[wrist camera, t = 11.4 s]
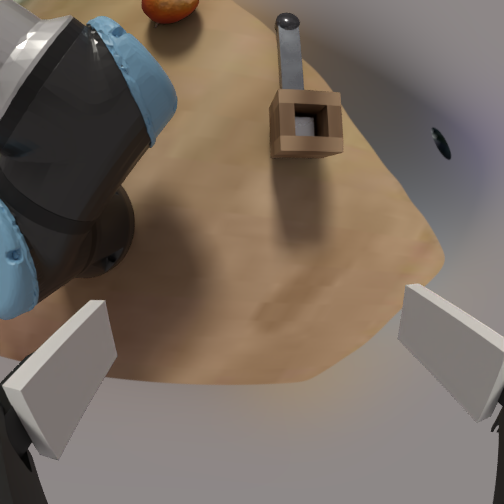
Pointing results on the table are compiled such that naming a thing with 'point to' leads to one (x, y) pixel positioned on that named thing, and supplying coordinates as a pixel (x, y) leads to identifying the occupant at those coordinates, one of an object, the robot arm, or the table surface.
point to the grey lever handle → (291, 64)
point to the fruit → (168, 10)
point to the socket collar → (305, 105)
